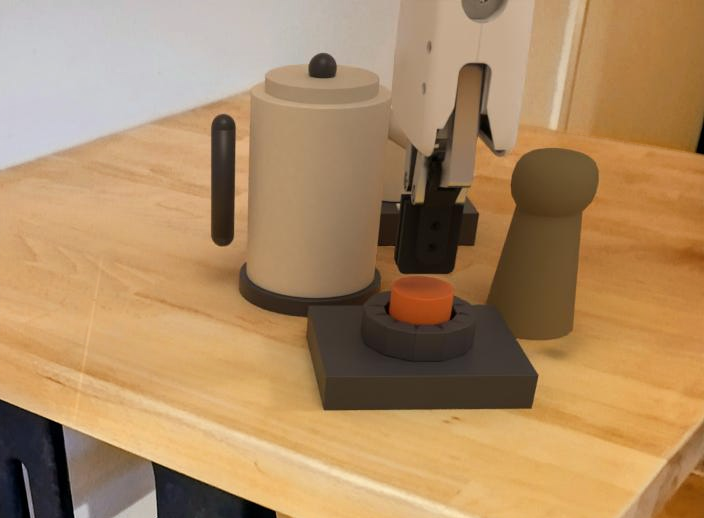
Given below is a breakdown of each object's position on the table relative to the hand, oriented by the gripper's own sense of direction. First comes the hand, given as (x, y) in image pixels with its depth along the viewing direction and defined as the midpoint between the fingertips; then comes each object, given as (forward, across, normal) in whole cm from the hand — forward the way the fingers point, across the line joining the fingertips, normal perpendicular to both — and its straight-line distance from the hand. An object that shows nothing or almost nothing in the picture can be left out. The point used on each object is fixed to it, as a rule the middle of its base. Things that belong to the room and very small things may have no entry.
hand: (423, 268), depth 58 cm
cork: (+7, +7, -9) cm, 13 cm away
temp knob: (+4, +27, -3) cm, 28 cm away
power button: (+3, 0, 0) cm, 3 cm away
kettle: (+6, +13, +5) cm, 15 cm away
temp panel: (+6, +27, -3) cm, 28 cm away
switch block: (+6, 0, 0) cm, 7 cm away
